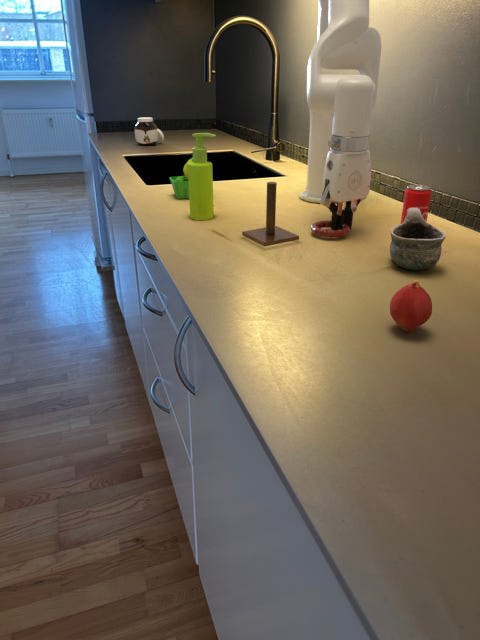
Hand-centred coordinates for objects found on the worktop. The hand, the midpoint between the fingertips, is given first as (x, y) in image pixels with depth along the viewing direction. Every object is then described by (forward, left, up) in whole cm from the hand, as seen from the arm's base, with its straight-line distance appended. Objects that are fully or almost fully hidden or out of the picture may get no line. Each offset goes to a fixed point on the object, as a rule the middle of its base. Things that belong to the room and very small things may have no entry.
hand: (341, 229), depth 114 cm
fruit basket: (+12, -50, -2) cm, 52 cm away
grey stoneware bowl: (0, +21, -2) cm, 21 cm away
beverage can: (-10, +12, -2) cm, 15 cm away
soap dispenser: (+19, -29, -2) cm, 35 cm away
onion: (+21, +40, -2) cm, 45 cm away
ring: (+3, 0, +1) cm, 3 cm away
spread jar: (-16, -152, -2) cm, 153 cm away
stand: (+15, -5, -2) cm, 16 cm away
